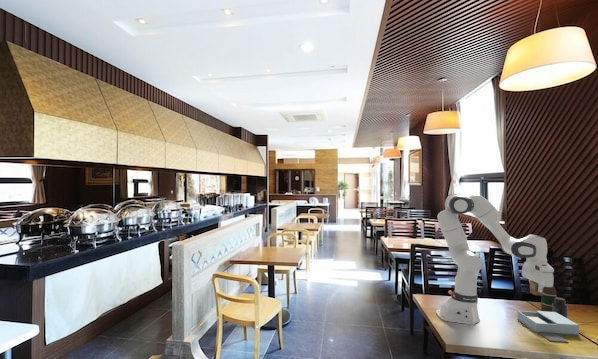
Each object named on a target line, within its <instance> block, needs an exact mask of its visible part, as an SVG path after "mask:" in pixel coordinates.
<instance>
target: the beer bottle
mask: <svg viewBox="0 0 598 359" xmlns="http://www.w3.org/2000/svg"><path fill="white" fill-rule="evenodd" d="M555 297H557V290H556V287H555V286H554V285H553V286H552V287H544V288H543V296H540V302H541V303H540V305H541V306H540V307H541V310H540V311H547V312H552V303H553V302H555V301H554V298H555Z"/></svg>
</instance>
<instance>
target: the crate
mask: <svg viewBox="0 0 598 359" xmlns="http://www.w3.org/2000/svg"><path fill="white" fill-rule="evenodd" d="M516 314H517V321H519V322H520V323H522V324H523V325H524V326H526V327H527V328H529V329H530V330H532V331H533V332H534V333H535V334H539V333H554V334H557V335H559V336H572V337H573V336H574V337H579V336H580V329H579V328H580V326H579V324H578V323H576V322H574V321H572V320H570V319H569V318H568V319H567V318H565V317H564V316H562V315H560V314H558V313H556V312H547V311H542V310H536V311H528V310H517V313H516Z"/></svg>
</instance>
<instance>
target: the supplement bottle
mask: <svg viewBox="0 0 598 359" xmlns="http://www.w3.org/2000/svg"><path fill="white" fill-rule="evenodd" d="M554 301H555V302H553V303H552V312H556V313H558V314H560V315H562V316H564V317H565V318H567V319H569V306H568V304H566V303H567V302H566V299H565V298H562V297H558V296H556V297H555V298H554Z"/></svg>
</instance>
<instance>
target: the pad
mask: <svg viewBox="0 0 598 359" xmlns="http://www.w3.org/2000/svg"><path fill="white" fill-rule="evenodd" d="M538 334H539V335H540V336H542V337H543V338H545V339H546V340H547V341H548V342H553V343H563V344H564V343H565V344H568V343H569V340H567V339H564V338H563V337H562V336H561V335H557V334H554V333H538Z"/></svg>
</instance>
